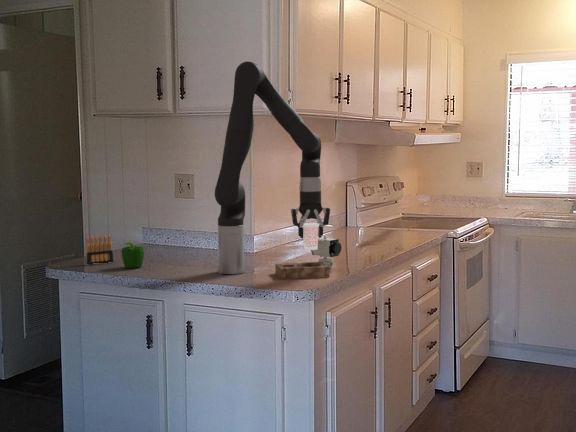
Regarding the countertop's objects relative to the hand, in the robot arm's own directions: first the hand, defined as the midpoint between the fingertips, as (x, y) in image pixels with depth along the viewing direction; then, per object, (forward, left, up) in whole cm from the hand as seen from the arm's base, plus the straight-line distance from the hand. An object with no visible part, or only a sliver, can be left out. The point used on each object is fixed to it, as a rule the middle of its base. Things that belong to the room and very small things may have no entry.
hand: (310, 237), depth 247 cm
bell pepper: (-62, +32, -14) cm, 71 cm away
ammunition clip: (-75, +44, -14) cm, 88 cm away
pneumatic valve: (+8, +12, -13) cm, 20 cm away
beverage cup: (0, 0, -4) cm, 4 cm away
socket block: (-3, 0, -13) cm, 14 cm away
